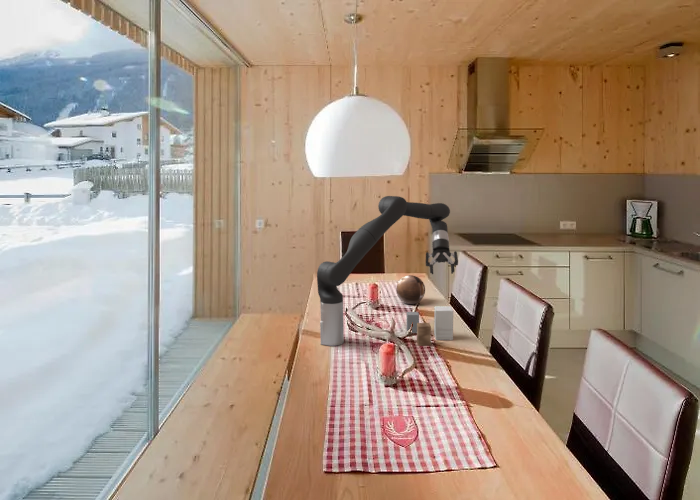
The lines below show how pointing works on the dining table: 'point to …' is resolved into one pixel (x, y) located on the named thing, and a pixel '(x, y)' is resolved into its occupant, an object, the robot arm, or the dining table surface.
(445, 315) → the supplement box
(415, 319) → the grey block
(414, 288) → the wooden sphere
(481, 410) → the dining table surface
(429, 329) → the walnut block
